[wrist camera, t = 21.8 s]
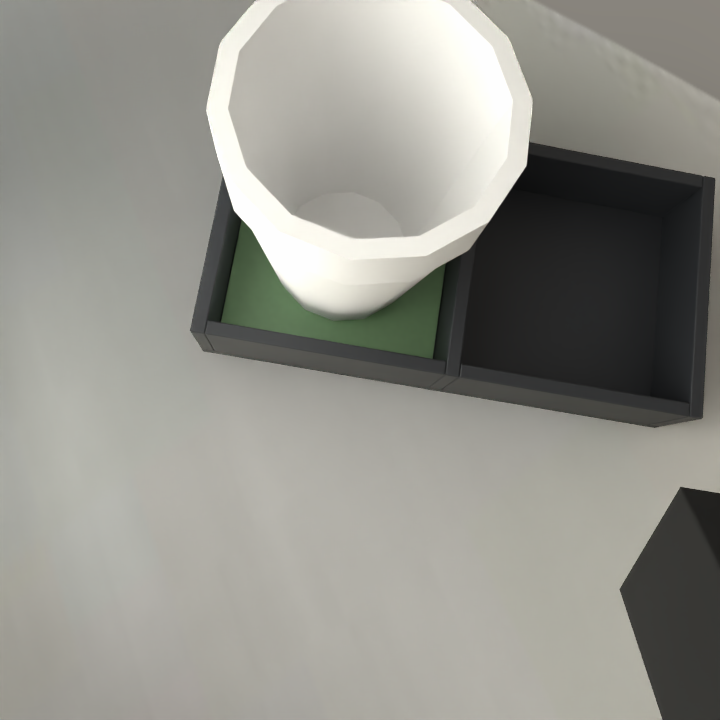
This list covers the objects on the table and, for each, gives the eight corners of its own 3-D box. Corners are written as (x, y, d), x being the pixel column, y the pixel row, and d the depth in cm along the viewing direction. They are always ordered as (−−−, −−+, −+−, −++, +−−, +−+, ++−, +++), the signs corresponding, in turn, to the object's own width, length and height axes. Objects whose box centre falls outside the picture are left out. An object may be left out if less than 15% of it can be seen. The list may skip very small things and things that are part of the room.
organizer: (202, 351, 32) (189, 331, 28) (247, 132, 34) (241, 86, 30) (655, 427, 33) (703, 418, 29) (669, 212, 35) (716, 177, 31)
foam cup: (220, 189, 33) (171, -4, 20) (403, 143, 34) (468, -67, 21) (277, 379, 31) (264, 300, 18) (466, 323, 32) (576, 214, 20)
